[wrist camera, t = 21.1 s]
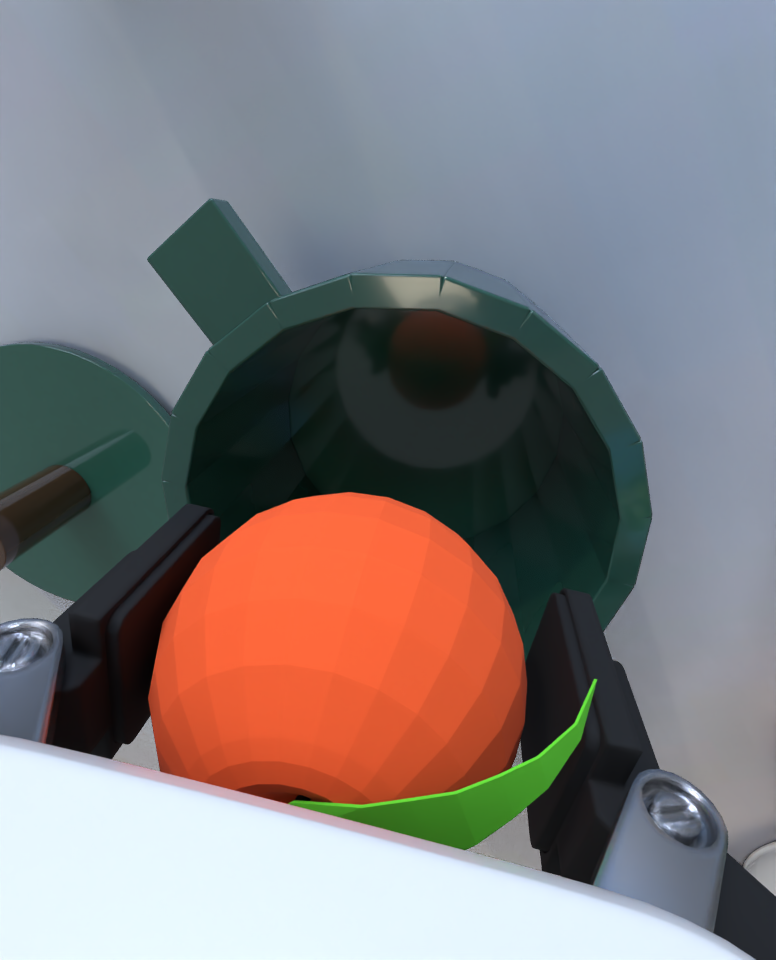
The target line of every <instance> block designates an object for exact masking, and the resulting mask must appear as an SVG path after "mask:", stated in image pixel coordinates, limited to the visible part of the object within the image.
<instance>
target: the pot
mask: <svg viewBox="0 0 776 960" xmlns="http://www.w3.org/2000/svg"><path fill="white" fill-rule="evenodd" d="M147 260H148V262H149V263H150V264H151V266H152V267H153V268H154V269H155V271H156V272H157V273H158V275H159V276H160V277H161V278H162V280H163V281H164V282H165V284H166V285H167V286H168V287H169V289H170V290H171V291H172V293H173V294H174V295H175V296H176V298H177V299H178V300H179V302H180V303H181V304H182V305H183V307H184V308H185V309H186V311H187V312H188V313H189V314H190V316H191V317H192V318H193V320H194V321H195V322H196V323H197V325H198V326H199V327H200V329H201V330H202V331H203V332H204V334H205V335H206V336H207V338H208V339H209V340H210V341H211V343H212V344H213V346H211V347H210V348H209V350H208V351H207V352H205V354H204V356H203V358H202V360H201V361H200V363H199V365H198V367H197V368H196V370H195V372H194V374H193V375H192V377H191V379H190V381H189V382H188V384H187V386H186V388H185V389H184V391H183V393H182V395H181V396H180V398H179V400H178V402H177V404H176V405H175V407H174V409H173V411H172V414H171V418H170V424H169V431H168V437H167V444H166V450H165V456H164V463H163V469H162V476H161V479H162V487H163V493H164V498H165V504H166V509H167V515H168V520H169V519H170V518H171V517H172V516H174V515H175V514H176V513H177V512H178V511H179V510H180V509H181V508H182V507H183V506H184V505H186V504H194V505H198V506H202V507H207V508H211V509H213V511H214V516H218V517H220V520H221V530H220V543H221V542H222V541H223V540H224V539H226V538H227V537H228V536H229V535H231V534H232V533H233V532H235V531H236V530H237V529H238V528H240V527H241V526H242V525H243V524H245V523H246V522H247V521H248V520H250V519H251V518H252V517H253V516H255V515H256V514H258V513H261V512H263V511H266V510H269V509H271V508H274V507H276V506H279V505H281V504H284V503H287V502H289V501H292V500H294V499H300V498H305V497H311V496H318V495H327V494H337V493H346V492H353V493H360V494H368V495H375V496H382V497H389V498H392V499H394V500H397V501H399V502H402V503H404V504H407V505H410V506H412V507H415V508H417V509H420V510H423V511H425V512H427V513H428V514H430V515H431V516H432V517H434V518H435V519H437V520H438V521H440V522H441V523H443V524H444V525H445V526H447V527H448V528H450V529H451V530H453V531H454V532H456V533H457V534H458V535H459V536H460V537H461V538H462V539H463V540H464V541H465V542H466V543H467V544H468V545H469V546H470V547H471V548H472V549H473V550H474V552H475V553H476V554H477V555H478V556H479V557H480V559H481V560H482V561H483V562H484V563H485V564H486V565H487V567H488V568H489V569H490V570H491V571H492V572H493V574H494V575H495V576H496V577H497V579H498V581H499V583H500V585H501V588H502V590H503V592H504V594H505V596H506V598H507V601H508V603H509V605H510V607H511V609H512V612H513V614H514V617H515V620H516V623H517V627H518V630H519V633H520V636H521V639H522V642H523V648H524V657H525V661H526V659H527V656H528V653H529V651H530V648H531V645H532V643H533V640H534V637H535V635H536V632H537V629H538V627H539V624H540V621H541V619H542V616H543V614H544V611H545V608H546V606H547V603H548V600H549V598H550V596H551V594H552V593H553V592H554V593H558V594H559V593H560V591H561V590H562V589H563V588H566V589H570V590H575V591H579V592H583V593H588V594H590V596H591V597H592V600H593V603H594V606H595V609H596V612H597V615H598V618H599V621H600V624H601V627H602V630H603V632H604V630H605V629H606V627H607V626H608V624H609V623H610V621H611V620H612V618H613V617H614V616H615V614H616V613H617V611H618V610H619V608H620V607H621V605H622V604H623V603H624V601H625V600H626V598H627V597H628V595H629V594H630V592H631V591H632V589H633V588H634V585H635V584H636V580H637V576H638V572H639V568H640V564H641V560H642V556H643V552H644V548H645V544H646V540H647V536H648V532H649V528H650V524H651V520H652V509H651V501H650V494H649V486H648V479H647V471H646V464H645V456H644V449H643V442H642V441H641V437H640V436H639V434H638V432H637V430H636V428H635V427H634V425H633V423H632V421H631V420H630V418H629V416H628V414H627V412H626V411H625V409H624V407H623V405H622V403H621V402H620V400H619V398H618V396H617V394H616V393H615V391H614V389H613V387H612V385H611V384H610V382H609V380H608V378H607V376H606V375H605V373H604V371H603V369H602V368H600V367H599V365H598V364H597V363H596V362H595V361H594V360H593V359H592V358H591V357H590V356H589V355H588V354H587V353H586V352H585V351H584V350H583V349H582V348H581V347H580V346H579V345H578V344H577V343H576V342H575V341H574V340H573V339H572V338H571V337H570V336H569V335H568V334H567V333H566V332H565V331H564V330H563V329H562V328H561V327H560V326H558V325H557V324H556V323H555V322H554V321H553V320H552V319H551V318H550V317H549V316H548V315H547V314H546V313H545V312H544V311H543V310H541V309H540V308H539V307H538V306H537V305H536V304H534V303H533V302H532V301H531V300H530V299H528V298H527V297H526V296H525V295H524V294H523V293H521V292H520V291H519V290H518V289H517V288H516V287H514V286H513V285H512V284H511V283H510V282H508V281H506V280H505V279H502V278H500V277H497V276H494V275H492V274H489V273H486V272H484V271H482V270H479V269H477V268H474V267H470V266H468V265H465V264H462V263H460V262H455V261H446V260H397V261H393V262H390V263H386V264H382V265H378V266H375V267H371V268H367V269H363V270H359V271H356V272H352V273H348V274H345V275H342V276H339V277H336V278H333V279H330V280H327V281H324V282H321V283H318V284H315V285H312V286H309V287H306V288H303V289H300V290H297V291H294V292H292V291H291V290H290V288H289V287H288V286H287V284H286V283H285V281H284V280H283V279H282V277H281V276H280V274H279V273H278V272H277V270H276V269H275V267H274V266H273V265H272V263H271V262H270V260H269V259H268V258H267V256H266V255H265V253H264V252H263V250H262V249H261V248H260V246H259V245H258V243H257V242H256V241H255V239H254V238H253V236H252V235H251V234H250V232H249V231H248V229H247V228H246V227H245V225H244V224H243V222H242V221H241V219H240V218H239V217H238V215H237V214H236V212H235V211H234V210H233V208H232V207H231V205H230V204H229V203H228V202H227V201H225V200H219V199H213V198H211V199H209V200H208V201H207V202H205V203H204V204H203V205H202V206H201V207H200V208H199V209H198V210H197V211H196V212H195V213H194V214H193V215H192V216H191V217H190V218H189V219H188V220H187V221H186V222H185V223H184V224H182V225H181V226H180V227H179V228H178V229H177V230H176V231H175V232H174V233H173V234H172V235H171V236H170V237H169V238H168V239H167V240H166V241H165V242H164V243H163V244H162V245H160V246H159V247H158V248H157V249H156V250H155V251H154V252H153V253H152V254H151V255H150V256H149V257H148V259H147Z"/></svg>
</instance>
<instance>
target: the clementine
mask: <svg viewBox="0 0 776 960" xmlns="http://www.w3.org/2000/svg"><path fill="white" fill-rule="evenodd" d="M596 682H597V679H594V681H593V683H592V685H591V687H590V690H589V692H588V694H587V696H586V698H585V701H584V703H583V705H582V707H581V710H580V712H579V714H578V716H577V718H576V721H575V723H574V724H573V725H572V726H571V727H570V728H569V729H567V730H566V731H565V732H564V733H563V734H562V735H561V736H559V737H558V738H557V739H556V740H555V741H554V742H553V743H552V744H550V745H549V746H548V747H547V748H546V749H545V750H544V751H542V752H541V753H540V754H539V755H538V756H536V757H534V758H532V759H530V760H528V761H526V762H524V763H521V764H519V765H517V766H515V767H513V768H511V767H512V764H513V762H514V760H515V758H516V754H517V750H518V746H519V742H520V739H521V735H522V731H523V727H524V723H525V711H526V695H527V676H526V666H525V657H524V648H523V642H522V639H521V636H520V633H519V630H518V627H517V623H516V620H515V617H514V614H513V612H512V609H511V607H510V605H509V603H508V601H507V598H506V596H505V594H504V592H503V590H502V588H501V585H500V583H499V581H498V579H497V577H496V576H495V575H494V574H493V572H492V571H491V570H490V569H489V568H488V567H487V565H486V564H485V563H484V562H483V561H482V560H481V559H480V557H479V556H478V555H477V554H476V553H475V552H474V550H473V549H472V548H471V547H470V546H469V545H468V544H467V543H466V542H465V541H464V540H463V539H462V538H461V537H460V536H459V535H458V534H457V533H456V532H454V531H453V530H451V529H450V528H448V527H447V526H445V525H444V524H443V523H441V522H440V521H438V520H437V519H435V518H434V517H432V516H431V515H430V514H428V513H427V512H425V511H423V510H420V509H417V508H415V507H412V506H410V505H407V504H404V503H402V502H399V501H397V500H394V499H392V498H389V497H382V496H375V495H368V494H360V493H353V492H346V493H337V494H327V495H318V496H311V497H305V498H300V499H294V500H292V501H289V502H287V503H284V504H281V505H279V506H276V507H274V508H271V509H269V510H266V511H263V512H261V513H258V514H256V515H255V516H253V517H252V518H251V519H250V520H248V521H247V522H246V523H245V524H243V525H242V526H241V527H240V528H238V529H237V530H236V531H235V532H233V533H232V534H231V535H229V536H228V537H227V538H226V539H224V540H223V541H222V542H221V543H220V544H218V545H217V546H216V547H215V548H213V549H212V550H211V551H210V552H208V553H207V554H206V555H205V556H203V557H202V558H201V560H200V561H199V563H198V564H197V566H196V568H195V569H194V571H193V572H192V574H191V576H190V577H189V579H188V580H187V582H186V584H185V585H184V587H183V588H182V590H181V592H180V593H179V595H178V597H177V599H176V600H175V602H174V604H173V606H172V607H171V609H170V611H169V612H168V614H167V616H166V618H165V619H164V621H163V623H162V628H161V633H160V638H159V643H158V648H157V653H156V658H155V664H154V669H153V674H152V680H151V685H150V691H149V696H148V701H149V707H150V713H151V720H152V726H153V732H154V738H155V744H156V749H157V755H158V761H159V767H160V772H163V773H167V774H171V775H175V776H179V777H183V778H187V779H191V780H195V781H199V782H203V783H207V784H211V785H215V786H219V787H223V788H227V789H231V790H235V791H239V792H243V793H247V794H250V795H254V796H258V797H262V798H266V799H270V800H274V801H278V802H282V803H286V804H289V805H293V806H297V807H301V808H305V809H309V810H313V811H317V812H320V813H324V814H328V815H332V816H336V817H340V818H344V819H348V820H351V821H355V822H359V823H363V824H367V825H371V826H375V827H378V828H382V829H386V830H390V831H394V832H398V833H401V834H405V835H409V836H413V837H416V838H420V839H424V840H428V841H432V842H435V843H439V844H443V845H447V846H451V847H454V848H458V849H462V850H467V849H469V848H471V847H473V846H475V845H477V844H478V843H480V842H481V841H482V840H484V839H485V838H487V837H488V836H489V835H491V834H492V833H494V832H495V831H496V830H498V829H499V828H501V827H502V826H503V825H505V824H506V823H508V822H509V821H510V820H512V819H513V818H514V817H516V816H517V815H518V814H519V813H520V812H521V811H523V810H524V809H525V808H526V807H527V806H528V805H530V804H531V803H532V802H533V801H534V800H535V799H537V798H538V797H539V796H540V795H541V794H542V793H544V792H545V791H546V790H547V789H548V788H549V787H550V785H551V784H552V782H553V781H554V779H555V778H556V776H557V775H558V773H559V772H560V770H561V769H562V767H563V766H564V764H565V763H566V761H567V760H568V758H569V757H570V755H571V754H572V752H573V751H574V749H575V748H576V746H577V745H578V743H579V742H580V740H581V737H582V734H583V730H584V726H585V723H586V719H587V715H588V712H589V708H590V704H591V701H592V697H593V693H594V690H595V686H596Z"/></svg>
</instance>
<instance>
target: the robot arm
mask: <svg viewBox="0 0 776 960" xmlns="http://www.w3.org/2000/svg"><path fill="white" fill-rule="evenodd" d="M220 530H221V520H220V517H218V516H214V511H213V509H211V508H207V507H202V506H198V505H194V504H186V505H184V506H183V507H182V508H181V509H180V510H179V511H178V512H177V513H176V514H175V515H174V516H172V517H171V518H170V519H169V520H168V521H167V522H166V523H165V524H164V525H163V526H162V527H161V528H159V529H158V530H157V531H156V532H155V533H154V534H153V535H152V536H151V537H150V538H149V539H148V540H146V541H145V542H144V543H143V544H142V545H141V546H140V547H139V548H138V549H137V550H134V551H132V552H130V553H129V554H127V555H126V556H125V557H124V558H123V559H122V560H121V561H120V562H119V563H117V564H116V565H115V566H114V567H113V568H112V569H111V570H110V571H109V572H108V573H107V574H105V575H104V576H103V577H102V578H101V579H100V580H99V581H98V582H97V583H96V584H94V585H93V586H92V587H91V588H90V589H89V590H88V591H87V592H86V593H85V594H83V595H82V596H81V597H80V598H79V599H78V600H77V601H76V602H75V603H74V604H73V605H71V606H70V607H69V608H68V609H67V610H66V611H65V612H64V613H63V614H62V615H60V616H59V617H58V618H57V619H56V620H55V621H54V622H53V623H52V622H50V621H48V620H43V619H38V618H27V619H18V620H13V621H8V622H5V623H2V624H0V960H776V896H775V895H774V894H773V893H771V892H770V891H769V890H768V889H767V888H766V887H765V886H764V885H762V884H761V883H760V882H759V881H758V880H757V879H756V878H755V877H754V876H752V875H751V874H750V873H749V872H748V871H747V870H746V869H745V868H744V867H742V866H741V865H740V864H739V863H738V862H737V861H736V860H735V859H734V858H732V857H731V856H730V855H729V854H728V853H727V848H728V831H727V829H726V826H725V823H724V821H723V818H722V816H721V815H720V813H719V812H718V810H717V809H716V807H715V806H714V804H713V803H712V802H711V801H710V800H709V799H708V798H707V797H706V796H705V795H704V794H703V793H702V791H700V790H699V789H698V788H697V787H695V786H694V785H693V784H691V783H690V782H689V781H687V780H685V779H683V778H682V777H680V776H678V775H676V774H674V773H671V772H667V771H664V770H660V769H659V766H658V763H657V760H656V758H655V755H654V752H653V749H652V746H651V744H650V741H649V738H648V735H647V732H646V729H645V727H644V724H643V721H642V718H641V715H640V712H639V710H638V707H637V704H636V701H635V698H634V696H633V693H632V690H631V687H630V684H629V681H628V679H627V676H626V673H625V670H624V668H623V666H622V664H620V663H619V662H617V661H613V660H612V657H611V654H610V651H609V648H608V645H607V642H606V639H605V636H604V633H603V630H602V627H601V624H600V621H599V618H598V615H597V612H596V609H595V606H594V603H593V600H592V597H591V596H590V594H588V593H583V592H579V591H575V590H570V589H566V588H563V589H562V590H561V591H560V593H559V594H558V593H554V592H553V593H552V594H551V596H550V598H549V600H548V603H547V606H546V608H545V611H544V614H543V616H542V619H541V621H540V624H539V627H538V629H537V632H536V635H535V637H534V640H533V643H532V645H531V648H530V651H529V653H528V656H527V659H526V661H525V666H526V676H527V695H526V711H525V723H524V727H523V731H522V735H521V750H522V760H523V763H524V762H526V761H528V760H530V759H532V758H534V757H536V756H538V755H539V754H540V753H541V752H542V751H544V750H545V749H546V748H547V747H548V746H549V745H550V744H552V743H553V742H554V741H555V740H556V739H557V738H558V737H559V736H561V735H562V734H563V733H564V732H565V731H566V730H567V729H569V728H570V727H571V726H572V725H573V724H574V723H575V721H576V718H577V716H578V714H579V712H580V710H581V707H582V705H583V703H584V701H585V698H586V696H587V694H588V692H589V690H590V687H591V685H592V683H593V681H594V679H597V682H596V686H595V690H594V693H593V697H592V701H591V704H590V708H589V712H588V715H587V719H586V723H585V726H584V730H583V734H582V737H581V740H580V742H579V743H578V745H577V746H576V748H575V749H574V751H573V752H572V754H571V755H570V757H569V758H568V760H567V761H566V763H565V764H564V766H563V767H562V769H561V770H560V772H559V773H558V775H557V776H556V778H555V779H554V781H553V782H552V784H551V785H550V787H549V788H548V789H547V790H546V791H545V792H544V793H542V794H541V795H540V796H539V797H538V798H537V799H535V800H534V801H533V802H532V803H531V804H530V805H528V806H527V812H528V822H529V833H530V841H531V845H532V847H533V848H535V849H539V850H540V856H541V865H542V871H540V870H536V869H533V868H529V867H526V866H522V865H519V864H515V863H511V862H507V861H504V860H500V859H496V858H492V857H488V856H485V855H481V854H477V853H473V852H470V851H466V850H462V849H458V848H454V847H451V846H447V845H443V844H439V843H435V842H432V841H428V840H424V839H420V838H416V837H413V836H409V835H405V834H401V833H398V832H394V831H390V830H386V829H382V828H378V827H375V826H371V825H367V824H363V823H359V822H355V821H351V820H348V819H344V818H340V817H336V816H332V815H328V814H324V813H320V812H317V811H313V810H309V809H305V808H301V807H297V806H293V805H289V804H286V803H282V802H278V801H274V800H270V799H266V798H262V797H258V796H254V795H250V794H247V793H243V792H239V791H235V790H231V789H227V788H223V787H219V786H215V785H211V784H207V783H203V782H199V781H195V780H191V779H187V778H183V777H179V776H175V775H171V774H167V773H163V772H160V771H156V770H152V769H148V768H144V767H140V766H136V765H132V764H128V763H124V762H120V761H116V760H112V758H113V757H114V755H115V754H116V753H117V751H118V750H119V748H120V747H121V745H122V744H123V743H124V744H130V743H131V742H132V741H133V740H134V739H135V738H136V736H137V735H138V733H139V732H140V730H141V729H142V727H143V726H144V724H145V723H146V721H147V720H148V718H149V717H150V715H151V713H150V707H149V701H148V696H149V691H150V685H151V680H152V674H153V669H154V664H155V658H156V653H157V648H158V643H159V638H160V633H161V628H162V623H163V621H164V619H165V618H166V616H167V614H168V612H169V611H170V609H171V607H172V606H173V604H174V602H175V600H176V599H177V597H178V595H179V593H180V592H181V590H182V588H183V587H184V585H185V584H186V582H187V580H188V579H189V577H190V576H191V574H192V572H193V571H194V569H195V568H196V566H197V564H198V563H199V561H200V560H201V558H202V557H203V556H205V555H206V554H207V553H208V552H210V551H211V550H212V549H213V548H215V547H216V546H217V545H218V544H220ZM543 871H544V872H543ZM547 872H548V873H547ZM550 873H552V874H550ZM554 874H555V875H554ZM557 875H559V876H557Z"/></svg>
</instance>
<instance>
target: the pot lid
mask: <svg viewBox="0 0 776 960" xmlns="http://www.w3.org/2000/svg"><path fill="white" fill-rule="evenodd" d="M170 418H171V417H170V416H169V414H168V413H167V412H166V411H165V409H164V408H163V407H162V406H161V405H160V404H159V403H158V402H157V401H156V400H155V399H154V398H153V397H152V396H151V395H150V394H149V393H148V392H147V391H146V390H144V389H143V388H142V387H141V386H140V385H139V384H138V383H136V382H135V381H134V380H132V379H131V378H130V377H128V376H127V375H125V374H124V373H122V372H121V371H120V370H118V369H117V368H115V367H113V366H111V365H109V364H107V363H106V362H104V361H102V360H100V359H98V358H96V357H93V356H91V355H89V354H86V353H84V352H81V351H79V350H75V349H72V348H68V347H65V346H61V345H56V344H49V343H42V342H19V343H13V344H7V345H2V346H0V570H2V569H3V568H5V567H7V568H8V569H9V570H11V571H12V572H13V573H15V574H16V575H18V576H19V577H21V578H23V579H24V580H26V581H27V582H29V583H31V584H33V585H35V586H37V587H39V588H40V589H42V590H44V591H46V592H49V593H51V594H54V595H56V596H59V597H61V598H64V599H68V600H71V601H75V602H76V601H77V600H78V599H79V598H80V597H81V596H82V595H83V594H85V593H86V592H87V591H88V590H89V589H90V588H91V587H92V586H93V585H94V584H96V583H97V582H98V581H99V580H100V579H101V578H102V577H103V576H104V575H105V574H107V573H108V572H109V571H110V570H111V569H112V568H113V567H114V566H115V565H116V564H117V563H119V562H120V561H121V560H122V559H123V558H124V557H125V556H126V555H127V554H129V553H130V552H132V551H134V550H137V549H138V548H139V547H140V546H141V545H142V544H143V543H144V542H145V541H146V540H148V539H149V538H150V537H151V536H152V535H153V534H154V533H155V532H156V531H157V530H158V529H159V528H161V527H162V526H163V525H164V524H165V523H166V522H167V521H168V515H167V509H166V504H165V498H164V493H163V487H162V479H161V476H162V469H163V463H164V456H165V450H166V444H167V437H168V431H169V424H170Z"/></svg>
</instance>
